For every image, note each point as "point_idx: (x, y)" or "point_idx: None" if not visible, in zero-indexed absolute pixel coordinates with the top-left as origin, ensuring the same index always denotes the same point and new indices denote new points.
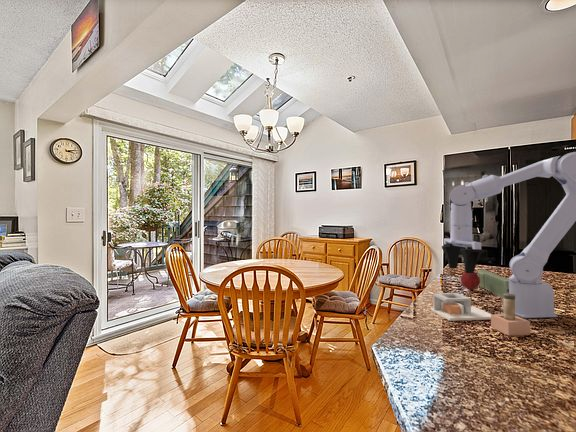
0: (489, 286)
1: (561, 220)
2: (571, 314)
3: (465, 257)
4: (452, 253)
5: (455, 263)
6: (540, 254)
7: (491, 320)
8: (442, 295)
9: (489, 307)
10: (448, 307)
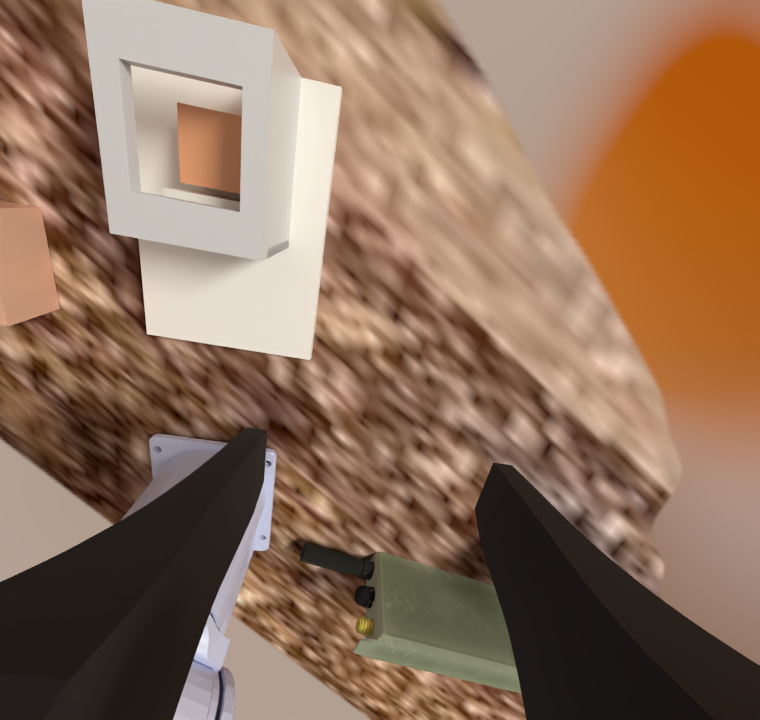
0: (497, 607)
1: None
2: None
3: (105, 544)
4: (564, 650)
5: (493, 540)
6: None
7: (5, 206)
8: (205, 68)
9: (310, 429)
10: (196, 107)
